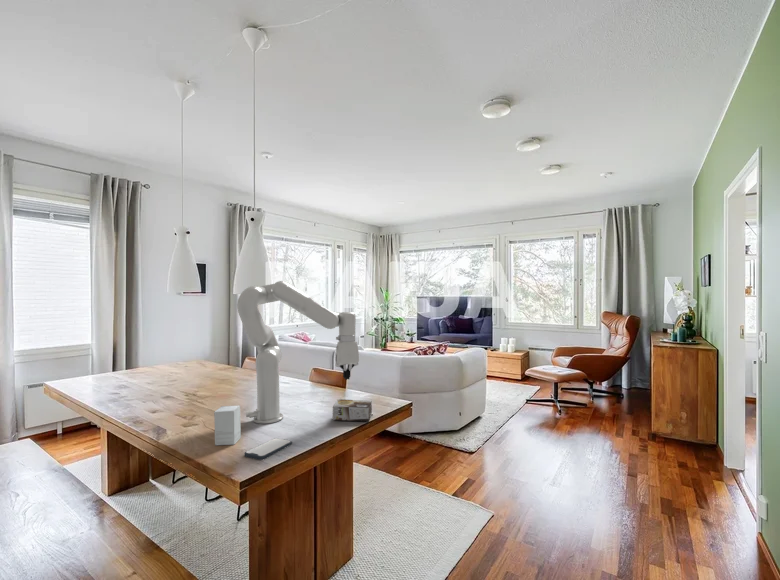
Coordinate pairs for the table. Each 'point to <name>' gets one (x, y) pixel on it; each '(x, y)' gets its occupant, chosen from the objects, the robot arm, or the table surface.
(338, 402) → the coffee box
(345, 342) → the robot arm
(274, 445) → the phone case
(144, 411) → the table surface
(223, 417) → the supplement box
